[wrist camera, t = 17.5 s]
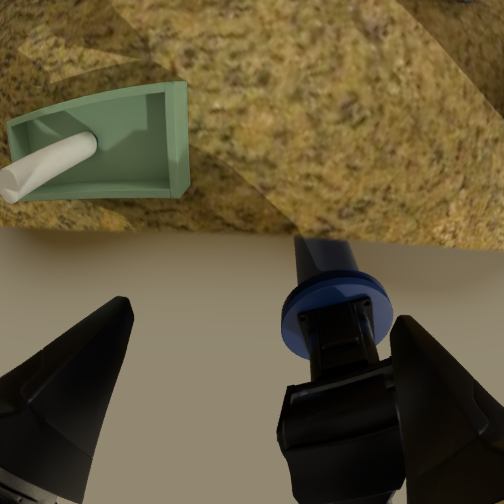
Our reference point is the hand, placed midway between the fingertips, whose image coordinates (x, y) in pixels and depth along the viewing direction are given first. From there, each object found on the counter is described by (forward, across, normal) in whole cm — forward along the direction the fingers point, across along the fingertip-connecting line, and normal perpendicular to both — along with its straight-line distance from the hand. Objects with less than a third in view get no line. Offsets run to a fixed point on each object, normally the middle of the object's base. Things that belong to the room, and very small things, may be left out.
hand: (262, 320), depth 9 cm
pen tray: (+12, +13, -4) cm, 18 cm away
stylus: (+12, +13, -4) cm, 18 cm away
